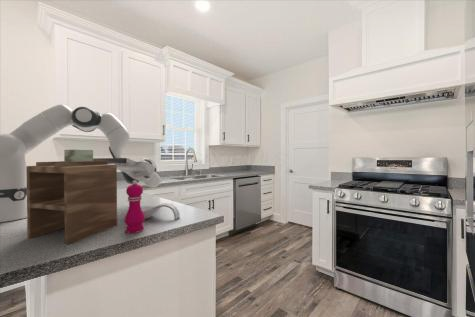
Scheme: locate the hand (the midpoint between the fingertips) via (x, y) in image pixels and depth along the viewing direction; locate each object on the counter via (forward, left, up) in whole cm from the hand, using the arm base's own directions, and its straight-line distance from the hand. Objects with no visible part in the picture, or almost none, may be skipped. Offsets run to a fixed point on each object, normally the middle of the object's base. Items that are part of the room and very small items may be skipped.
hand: (123, 159), depth 107 cm
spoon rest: (+17, +1, -28) cm, 33 cm away
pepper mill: (+21, -16, -28) cm, 38 cm away
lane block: (0, -12, -2) cm, 12 cm away
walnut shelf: (0, -24, -28) cm, 36 cm away
